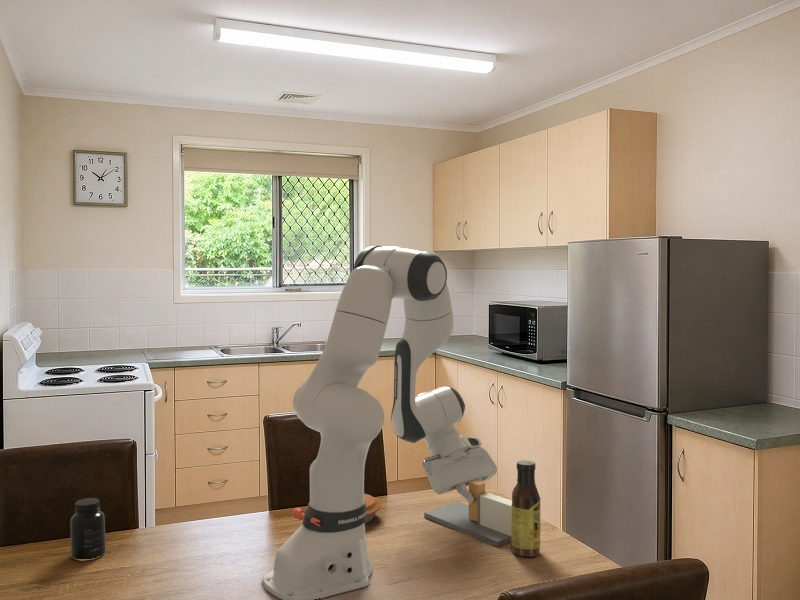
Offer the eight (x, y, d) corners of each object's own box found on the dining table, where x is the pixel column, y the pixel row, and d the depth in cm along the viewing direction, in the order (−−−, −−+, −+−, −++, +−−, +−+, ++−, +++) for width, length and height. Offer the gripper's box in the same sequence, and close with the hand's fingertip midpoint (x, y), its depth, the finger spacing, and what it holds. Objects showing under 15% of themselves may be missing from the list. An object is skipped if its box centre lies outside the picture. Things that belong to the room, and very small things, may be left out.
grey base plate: (498, 546, 153) (498, 510, 153) (424, 517, 171) (424, 484, 171) (531, 532, 161) (531, 498, 161) (457, 506, 179) (457, 475, 179)
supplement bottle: (66, 555, 149) (64, 501, 148) (97, 546, 154) (96, 493, 153) (79, 565, 144) (77, 509, 143) (111, 555, 149) (110, 501, 148)
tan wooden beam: (477, 522, 164) (478, 485, 163) (468, 518, 166) (468, 482, 166) (484, 519, 165) (485, 482, 165) (475, 516, 168) (475, 479, 167)
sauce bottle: (540, 559, 146) (541, 468, 145) (510, 557, 148) (511, 466, 147) (540, 547, 153) (540, 459, 152) (511, 545, 154) (512, 457, 153)
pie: (306, 519, 170) (305, 500, 170) (350, 503, 182) (350, 484, 181) (350, 535, 160) (350, 514, 160) (394, 517, 172) (394, 497, 171)
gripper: (426, 452, 163) (455, 503, 156) (483, 437, 177) (513, 484, 170) (413, 466, 167) (441, 516, 160) (470, 451, 180) (499, 497, 173)
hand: (478, 499), depth 165 cm, fingers closed on tan wooden beam, 2 cm apart
